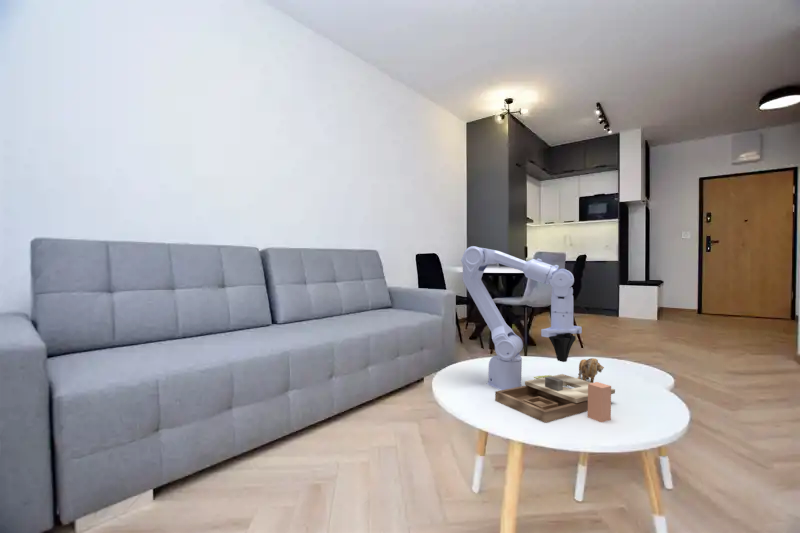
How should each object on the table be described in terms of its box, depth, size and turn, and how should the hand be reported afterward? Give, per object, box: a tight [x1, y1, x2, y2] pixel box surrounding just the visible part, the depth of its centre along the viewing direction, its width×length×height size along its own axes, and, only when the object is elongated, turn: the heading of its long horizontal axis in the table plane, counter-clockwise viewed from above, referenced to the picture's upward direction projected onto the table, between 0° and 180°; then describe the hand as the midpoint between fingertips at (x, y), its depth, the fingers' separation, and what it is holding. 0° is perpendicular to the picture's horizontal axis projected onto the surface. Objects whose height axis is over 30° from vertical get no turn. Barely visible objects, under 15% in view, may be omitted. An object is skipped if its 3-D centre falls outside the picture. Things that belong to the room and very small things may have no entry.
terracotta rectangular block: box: [587, 381, 612, 423], centre depth 89 cm, size 4×4×8 cm
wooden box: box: [494, 385, 588, 424], centre depth 96 cm, size 16×16×3 cm
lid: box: [524, 373, 616, 403], centre depth 102 cm, size 16×16×4 cm
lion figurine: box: [577, 357, 605, 383], centre depth 119 cm, size 15×5×9 cm, turn 174°
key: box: [533, 374, 568, 387], centre depth 119 cm, size 7×12×2 cm, turn 38°
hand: (562, 361), depth 104 cm, fingers closed
